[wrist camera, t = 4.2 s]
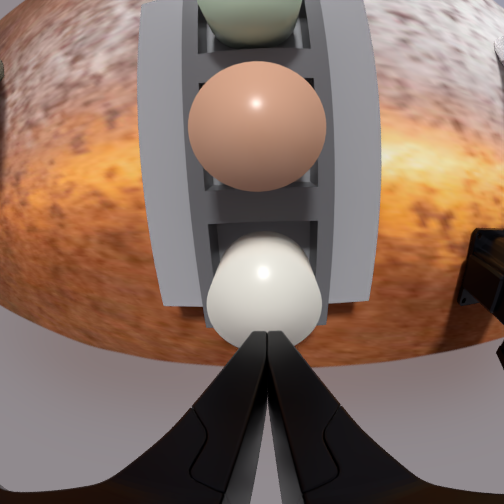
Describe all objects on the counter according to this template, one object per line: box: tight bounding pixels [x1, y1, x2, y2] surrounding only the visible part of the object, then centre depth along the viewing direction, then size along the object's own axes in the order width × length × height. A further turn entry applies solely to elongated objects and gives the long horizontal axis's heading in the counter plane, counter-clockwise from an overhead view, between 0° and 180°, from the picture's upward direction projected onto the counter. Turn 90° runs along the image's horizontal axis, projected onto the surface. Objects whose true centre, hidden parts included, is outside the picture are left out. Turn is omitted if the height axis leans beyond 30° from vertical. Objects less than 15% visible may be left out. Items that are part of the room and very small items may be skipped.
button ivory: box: [207, 231, 322, 348], centre depth 10 cm, size 4×4×3 cm
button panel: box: [137, 0, 381, 328], centre depth 12 cm, size 12×18×4 cm, turn 3°
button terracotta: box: [188, 61, 326, 192], centre depth 8 cm, size 4×4×3 cm
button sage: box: [197, 0, 302, 50], centre depth 7 cm, size 4×4×3 cm
